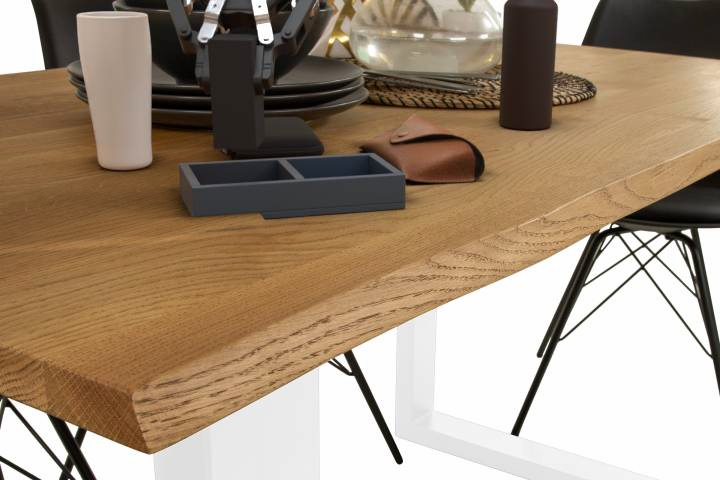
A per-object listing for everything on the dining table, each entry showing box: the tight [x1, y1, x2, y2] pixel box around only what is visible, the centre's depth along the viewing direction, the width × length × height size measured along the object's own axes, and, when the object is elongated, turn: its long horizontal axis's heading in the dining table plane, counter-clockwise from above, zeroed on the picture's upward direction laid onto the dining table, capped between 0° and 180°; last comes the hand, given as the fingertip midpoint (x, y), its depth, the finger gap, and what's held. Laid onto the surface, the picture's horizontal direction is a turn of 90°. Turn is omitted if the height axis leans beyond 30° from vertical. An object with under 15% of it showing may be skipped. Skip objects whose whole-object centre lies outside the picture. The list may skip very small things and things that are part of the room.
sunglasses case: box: [358, 112, 486, 185], centre depth 106 cm, size 18×7×7 cm, turn 22°
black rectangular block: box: [207, 33, 265, 150], centre depth 86 cm, size 4×5×9 cm
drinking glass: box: [76, 11, 154, 171], centre depth 100 cm, size 7×7×15 cm
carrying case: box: [219, 116, 325, 160], centre depth 109 cm, size 11×3×15 cm
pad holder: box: [178, 152, 406, 220], centre depth 90 cm, size 10×18×3 cm, turn 111°
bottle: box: [498, 0, 559, 131], centre depth 126 cm, size 7×7×20 cm
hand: (233, 88), depth 84 cm, fingers closed on black rectangular block, 3 cm apart
